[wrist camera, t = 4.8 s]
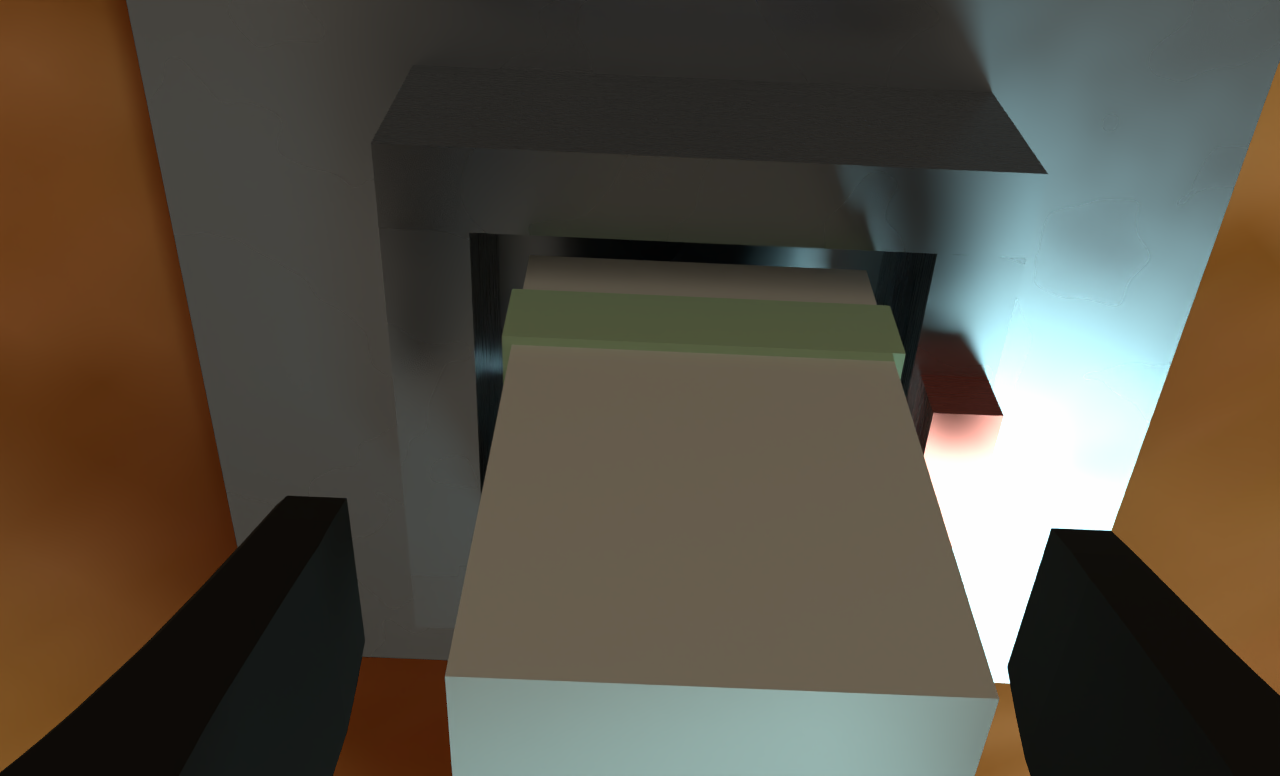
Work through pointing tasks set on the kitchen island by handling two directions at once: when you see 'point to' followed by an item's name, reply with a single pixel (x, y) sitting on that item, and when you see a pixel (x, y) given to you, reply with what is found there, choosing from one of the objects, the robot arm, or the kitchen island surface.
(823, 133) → the stand base
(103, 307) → the kitchen island surface
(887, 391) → the pale grey block
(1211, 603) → the kitchen island surface
